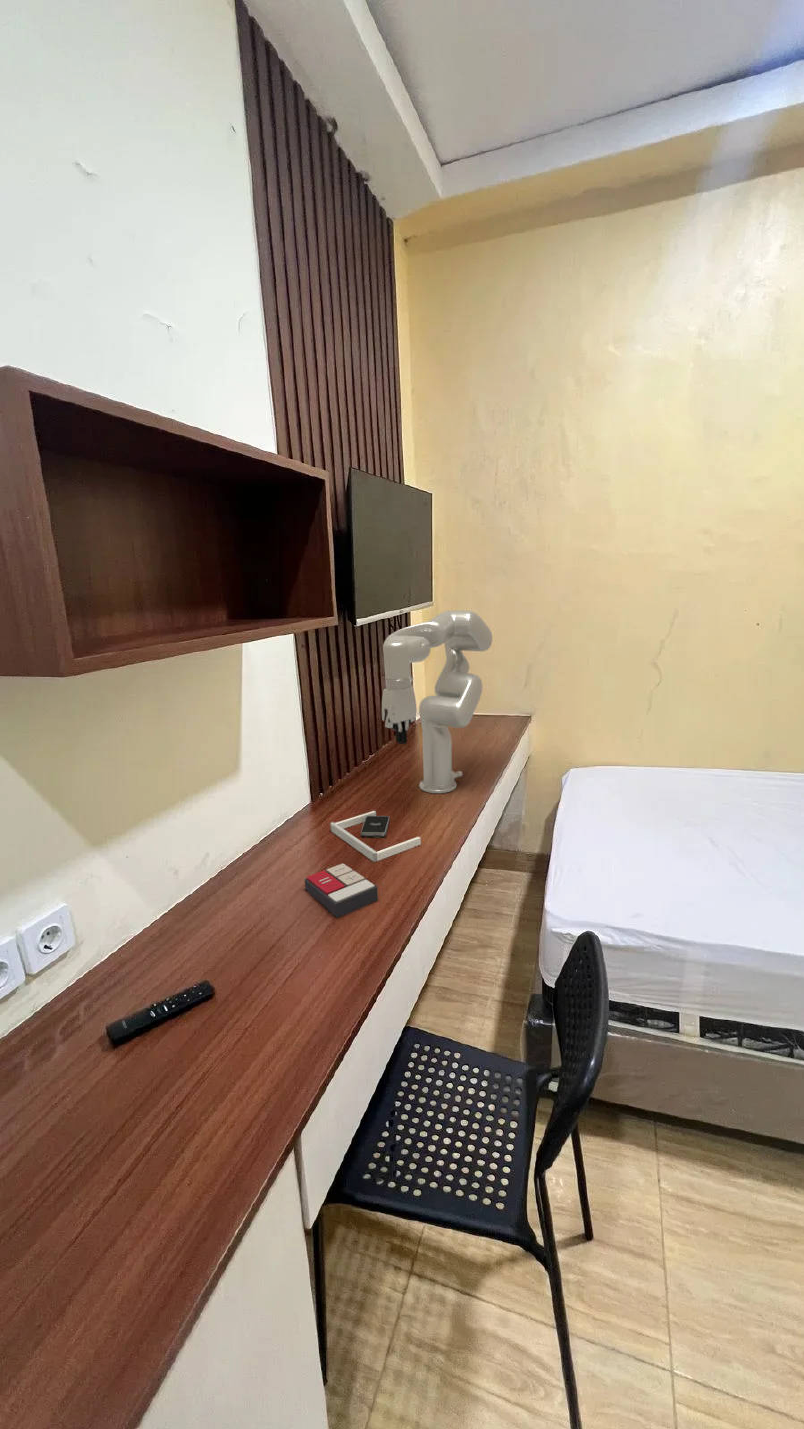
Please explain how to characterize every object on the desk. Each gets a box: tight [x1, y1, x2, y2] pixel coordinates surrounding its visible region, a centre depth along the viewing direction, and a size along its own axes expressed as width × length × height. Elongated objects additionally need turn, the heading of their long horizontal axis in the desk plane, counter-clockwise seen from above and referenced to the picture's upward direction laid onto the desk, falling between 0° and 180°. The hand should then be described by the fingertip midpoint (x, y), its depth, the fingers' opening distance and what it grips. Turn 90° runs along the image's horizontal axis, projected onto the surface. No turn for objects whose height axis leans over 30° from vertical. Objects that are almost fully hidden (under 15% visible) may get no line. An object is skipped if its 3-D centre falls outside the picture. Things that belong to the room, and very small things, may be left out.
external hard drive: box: [360, 815, 391, 839], centre depth 163 cm, size 7×11×2 cm, turn 175°
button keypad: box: [304, 863, 379, 919], centre depth 130 cm, size 11×4×15 cm
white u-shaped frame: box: [329, 810, 422, 863], centre depth 157 cm, size 15×23×2 cm, turn 36°
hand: (401, 742), depth 169 cm, fingers closed
